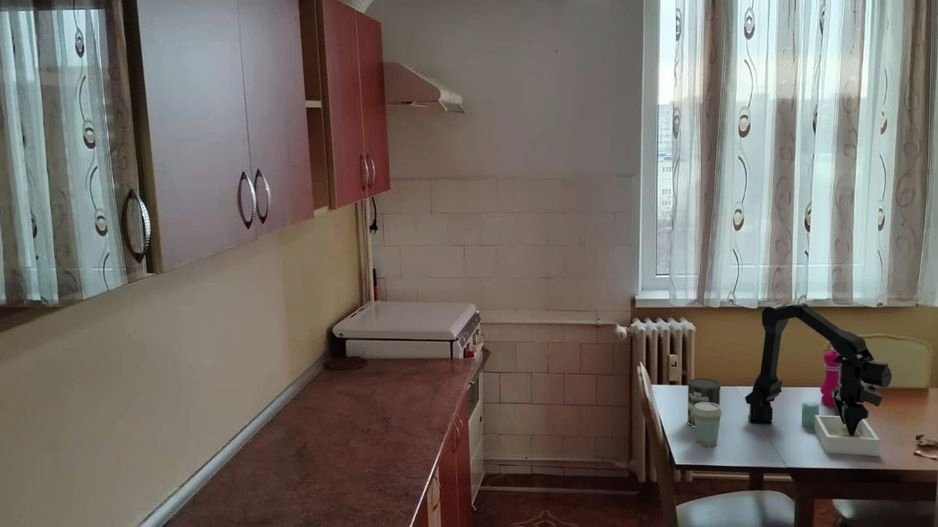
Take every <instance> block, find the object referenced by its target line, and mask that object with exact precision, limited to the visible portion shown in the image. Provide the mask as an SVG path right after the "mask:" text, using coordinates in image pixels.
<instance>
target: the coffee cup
mask: <svg viewBox="0 0 938 527" xmlns="http://www.w3.org/2000/svg"><path fill="white" fill-rule="evenodd" d="M722 412H723V411H722V409H721V405H720V406H719V405H717V404H715V403H710V402H700V403H696V404H695V405H694V408H693V413H694V421H695V428H694V429H695V438H696V443H698V444H700V445H702V446H701V447H704V446H709V447H708V448H711V447H710V446H713V447H715V445H716V446H717V443H718V436H719V431H720V430H719V429H720V426H719V423H720V422H721V415H722V414H723V413H722ZM698 444H697V445H698ZM700 445H699V446H700Z"/></svg>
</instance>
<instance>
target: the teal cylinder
mask: <svg viewBox="0 0 938 527" xmlns="http://www.w3.org/2000/svg"><path fill="white" fill-rule="evenodd" d="M815 415H820V404H819V403H817V402H812V401H803V402H802V403H801V426H802V427H804V428H806V429H807V428H808V429H814V421H815Z"/></svg>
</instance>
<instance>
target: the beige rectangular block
mask: <svg viewBox="0 0 938 527" xmlns="http://www.w3.org/2000/svg"><path fill="white" fill-rule="evenodd" d="M838 436H839V437H857V438H861V434H860V433H859V431H858V430H857V429H856V431H855V434H854V436H850V435H849V433H848V430H847V428H841V427H838Z"/></svg>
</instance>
